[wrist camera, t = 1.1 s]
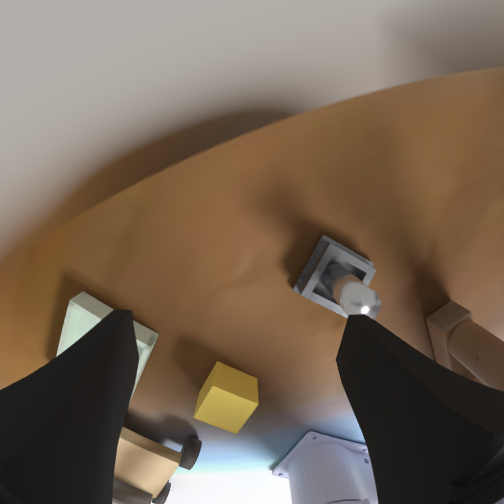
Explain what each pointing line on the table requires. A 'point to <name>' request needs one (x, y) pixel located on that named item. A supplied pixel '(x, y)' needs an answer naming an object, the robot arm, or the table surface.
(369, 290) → the pin
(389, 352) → the robot arm
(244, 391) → the yellow cube
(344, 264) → the pin socket
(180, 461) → the trolley
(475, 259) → the table surface
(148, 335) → the tray
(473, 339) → the wooden block
